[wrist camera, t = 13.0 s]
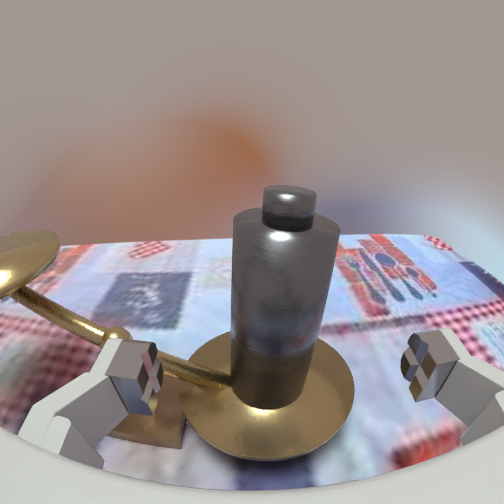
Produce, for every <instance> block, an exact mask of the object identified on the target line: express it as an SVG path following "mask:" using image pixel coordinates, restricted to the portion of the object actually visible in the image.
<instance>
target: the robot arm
mask: <svg viewBox="0 0 504 504" xmlns="http://www.w3.org/2000/svg"><path fill="white" fill-rule="evenodd" d="M408 345H409V348H408V349H407V350H406V351H405V352H404V353H403V355H402V358H401V371H402V374H403V377H404V378H405V379H406V380H408V381H409V382H410V385H409V389H410V392H411V394H412V396H413V398H414V400H415V402H418V401H423V400H427V399H431V398H435V397H436V398H435V399H436V400H437V401H438V402H440V403H441V404H442V405H443V406H444V407H446V408H447V409H448V410H449V411H450V412H452V413H453V414H454V415H455V416H456V417H458V418H459V419H460V420H461V421H462V422H464V423H465V424H466V425H467V426H468V427H469V428H468V429H467V430H466V431H465V432H464V433H463V434H462V436H461V438H460V439H461V441H462V443H463V446H462V447H459V448H457V449H455V450H452V451H450V452H448V453H445V454H443V455H440V456H438V457H435V458H432V459H430V460H427V461H424V462H421V463H418V464H415V465H412V466H409V467H406V468H403V469H399V470H396V471H392V472H389V473H385V474H381V475H377V476H373V477H368V478H364V479H359V480H354V481H349V482H344V483H338V484H332V485H325V486H317V487H309V488H299V489H286V490H265V491H236V490H215V489H202V488H192V487H184V486H176V485H169V484H163V483H157V482H152V481H147V480H142V479H137V478H133V477H128V476H124V475H120V474H116V473H113V472H109V471H105V470H102V468H103V465H104V460H103V458H102V457H101V456H100V455H99V454H98V452H97V451H96V450H95V449H94V448H93V447H95V446H96V445H97V444H98V443H99V442H100V441H101V440H102V439H103V438H104V437H105V436H106V435H107V434H108V433H109V432H111V431H112V430H113V429H114V428H115V427H116V426H117V425H118V424H119V423H120V422H121V421H122V420H123V419H124V418H125V417H126V416H127V415H128V413H134V414H141V415H149V416H154V412H155V408H156V405H157V401H158V399H157V396H156V394H155V393H156V392H158V391H159V390H160V389H161V387H162V383H163V367H162V363H161V361H160V360H159V359H158V358H157V357H156V356H157V353H158V350H157V347H156V344H155V343H153V342H147V341H138V340H129V339H119V338H112V337H111V338H109V339H108V340H107V341H106V343H105V345H104V347H103V348H102V350H101V352H100V354H99V356H98V358H97V360H96V361H95V363H94V365H93V367H92V369H91V371H90V372H85V373H83V374H82V375H80V376H79V377H77V378H75V379H74V380H72V381H71V382H69V383H68V384H66V385H64V386H63V387H61V388H60V389H58V390H56V391H55V392H53V393H52V394H50V395H48V396H47V397H45V398H44V399H42V400H41V401H39V402H37V403H36V404H34V405H33V406H32V408H31V410H30V412H29V414H28V416H27V417H26V419H25V421H24V423H23V425H22V427H21V429H20V431H19V433H18V435H15V434H13V433H11V432H9V431H7V430H6V429H4V428H2V427H0V504H504V372H503V371H501V370H499V369H497V368H495V367H494V366H492V365H490V364H488V363H486V362H485V361H483V360H481V359H479V358H477V357H476V356H471V355H470V354H469V352H468V351H467V350H466V348H465V347H464V346H463V344H462V343H461V341H460V340H459V339H458V337H457V336H456V335H455V333H454V332H453V331H452V329H450V328H448V327H446V328H441V329H436V330H431V331H425V332H419V333H413V334H412V335H411V336H410V338H409V340H408Z"/></svg>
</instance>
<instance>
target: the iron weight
mask: <svg viewBox="0 0 504 504" xmlns="http://www.w3.org/2000/svg"><path fill="white" fill-rule="evenodd" d="M316 197H317V194H316V193H315V192H314V191H311V190H309V189H305V188H301V187H295V186H283V185H275V186H268V187H265V188H264V194H263V207H262V208H254V209H249V210H245V211H243V212H240V213H239V214H237V215H236V216H235V217H234V220H233V249H232V286H231V336H230V384H231V388H232V390H233V392H234V393H235V395H236V396H237V397H238V398H239V399H240V400H242V401H243V402H245V403H246V404H248V405H250V406H253V407H256V408H261V409H277V408H282V407H285V406H287V405H289V404H291V403H293V402H294V401H295V400H296V399H297V398H298V397H299V396H300V395H301V393H302V391H303V388H304V384H305V381H306V378H307V374H308V371H309V367H310V363H311V360H312V356H313V352H314V349H315V345H316V341H317V337H318V333H319V329H320V325H321V321H322V317H323V313H324V308H325V304H326V300H327V295H328V291H329V286H330V281H331V277H332V272H333V267H334V262H335V257H336V251H337V246H338V241H339V235H340V228H339V227H338V225H337V224H336V223H334V222H333V221H332V220H330V219H328V218H326V217H324V216H321V215H319V214H316V213H315V205H316Z"/></svg>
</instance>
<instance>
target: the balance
mask: <svg viewBox="0 0 504 504" xmlns="http://www.w3.org/2000/svg"><path fill="white" fill-rule="evenodd" d="M59 251H60V243H59V239H58V236H57V234H56V233H54V232H52V231H48V230H28V231H23V232H18V233H14V234H11V235H7V236H4V237H1V238H0V299H2V298H4V297H6V296H9V297H11V298H12V299H14V300H15V301H17V302H19V303H20V304H22V305H23V306H25V307H26V308H28V309H30V310H31V311H33V312H35V313H36V314H38V315H40V316H41V317H43V318H45V319H47V320H48V321H50V322H52V323H54V324H56V325H57V326H59V327H61V328H63V329H65V330H67V331H69V332H70V333H72V334H74V335H76V336H78V337H80V338H82V339H84V340H86V341H88V342H90V343H92V344H95V345H97V346H99V347H100V348H101V350H102V348H103V347H104V345H105V343H106V341H107V340H108V339H109V338H111V337H112V338H119V339H129V340H133V338H132V336H131V334H130V333H129V332H128V331H127V330H126V329H124V328H122V327H119V326H112V327H109V328H105V327H103V326H101V325H98V324H96V323H94V322H92V321H90V320H88V319H86V318H84V317H82V316H80V315H78V314H76V313H74V312H72V311H70V310H68V309H66V308H64V307H62V306H61V305H59V304H57V303H55V302H53V301H51V300H50V299H48V298H46V297H44V296H42V295H41V294H39V293H37V292H36V291H34V290H32V289H30V288H29V287H27V286H25V285H26V284H28V283H29V282H31V281H32V280H33V279H35V278H36V277H37V276H39V275H40V274H41V273H42V272H43V271H45V270H46V269H47V268H48V267H49V266H50V265H51V264H52V263H53V261H54V260H55V259H56V257H57V256H58V254H59ZM230 336H231V331H230V332H227V333H224V334H222V335H219V336H217V337H215V338H213V339H211V340H210V341H208V342H207V343H205V344H204V345H203V346H201V347H200V348H199V349H198V350H197V351H196V352H195V353H194V354H193V355H192V356H191V357H190V359H189V360H188V361H187V360H184V359H181V358H178V357H175V356H173V355H170V354H167V353H165V352H162V351H159V350H158V353H157V356H156V357H157V358H158V359H159V360H160V361H161V363H162V367H163V383H162V387H161V389H160V390H159V391H158V392H156V393H155V394H156V396H157V399H158V401H157V405H156V408H155V412H154V416H149V415H141V414H134V413H128V415H127V416H126V417H125V418H124V419H123V420H122V421H121V422H120V423H119V424H118V425H117V426H116V427H115V428H114V429H113V430H112V431H111V432H109V433H108V434H107V436H112V437H116V438H120V439H125V440H129V441H134V442H140V443H145V444H151V445H157V446H163V447H171V448H178V449H181V444H182V438H183V432H184V427H185V421H186V419H187V420H188V422H189V424H190V425H191V427H192V428H193V429H194V430H195V431H196V433H197V434H198V435H199V436H200V437H201V438H203V439H204V440H205V441H206V442H207V443H209V444H210V445H212V446H213V447H215V448H217V449H218V450H220V451H223V452H225V453H227V454H229V455H232V456H235V457H239V458H242V459H248V460H254V461H280V460H287V459H291V458H295V457H299V456H302V455H304V454H307V453H309V452H311V451H313V450H315V449H317V448H319V447H321V446H322V445H323V444H325V443H326V442H327V441H329V440H330V439H331V438H332V437H333V436H334V435H335V434H336V433H337V432H338V431H339V430H340V428H341V427H342V426H343V424H344V423H345V421H346V419H347V417H348V415H349V413H350V410H351V407H352V404H353V400H354V381H353V377H352V374H351V371H350V369H349V367H348V365H347V364H346V362H345V360H344V359H343V358H342V357H341V355H340V354H339V353H338V352H337V351H336V350H335V349H333V348H332V347H331V346H330V345H328V344H327V343H326V342H324V341H322V340H320V339H319V338H317V341H316V345H315V349H314V352H313V356H312V360H311V363H310V367H309V371H308V374H307V378H306V381H305V384H304V388H303V391H302V393H301V395H300V396H299V397H298V398H297V399H296V400H295V401H294V402H293V403H291V404H289V405H287V406H285V407H282V408H277V409H261V408H256V407H253V406H250V405H248V404H246V403H245V402H243V401H242V400H240V399H239V398H238V397H237V396H236V395H235V393H234V392H233V390H232V388H231V384H230Z"/></svg>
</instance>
